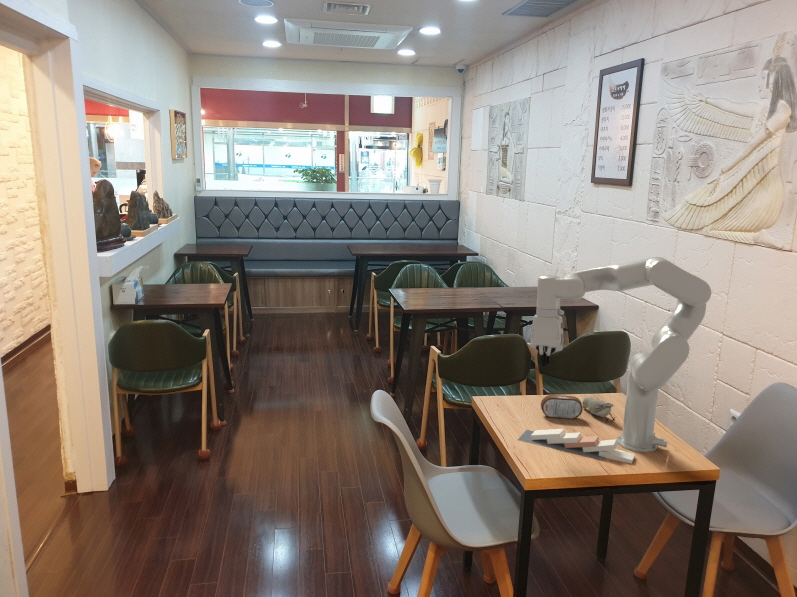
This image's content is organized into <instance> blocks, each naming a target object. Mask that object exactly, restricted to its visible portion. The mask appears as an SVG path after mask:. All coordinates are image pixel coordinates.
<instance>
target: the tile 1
mask: <svg viewBox="0 0 797 597" xmlns="http://www.w3.org/2000/svg"><path fill="white" fill-rule="evenodd" d="M533 431H534V430H533ZM565 431H566V430H565V428H552V429H550V428H549V429H537V430H536V429H535V431H534V433H533V434H532V435H531V438H532V440H540V439H560V438H562V436H563V435H564V434H565V433H566V432H565Z"/></svg>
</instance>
